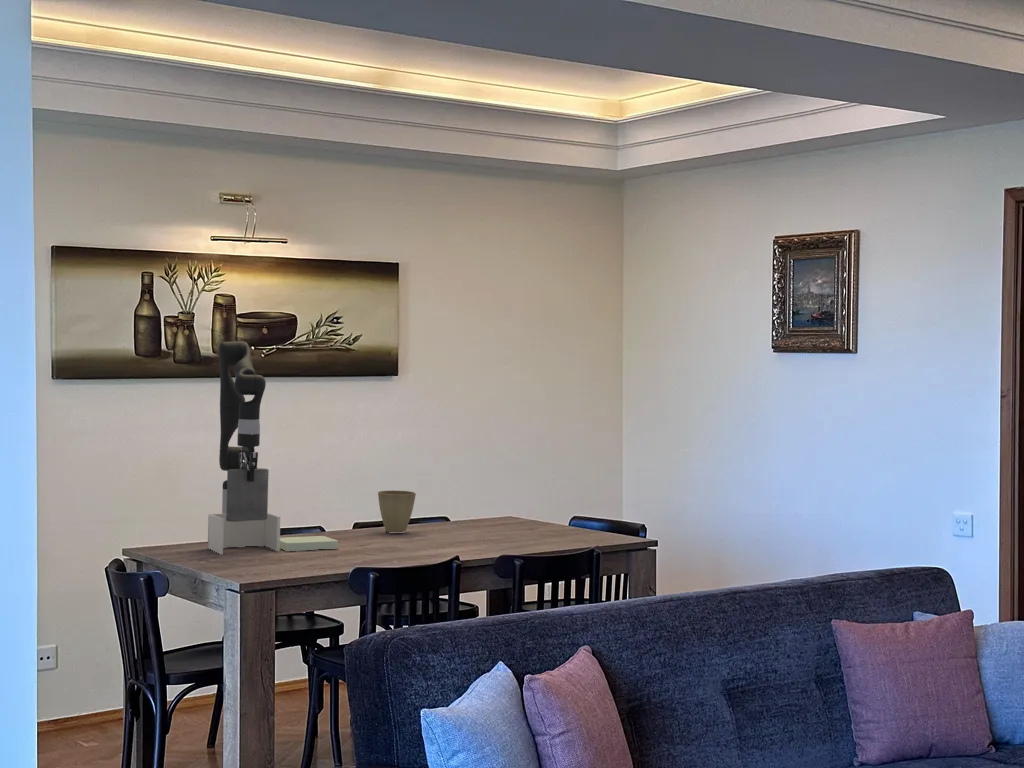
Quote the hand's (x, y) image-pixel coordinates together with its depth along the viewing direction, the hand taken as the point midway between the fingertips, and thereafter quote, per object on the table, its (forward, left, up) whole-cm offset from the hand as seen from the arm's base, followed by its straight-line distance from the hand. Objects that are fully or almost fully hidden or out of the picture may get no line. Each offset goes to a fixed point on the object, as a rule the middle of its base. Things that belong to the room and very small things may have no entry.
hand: (247, 480), depth 426 cm
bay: (-2, 0, -24) cm, 25 cm away
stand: (0, +22, -24) cm, 33 cm away
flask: (0, 0, -14) cm, 14 cm away
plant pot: (-28, +70, -25) cm, 79 cm away
